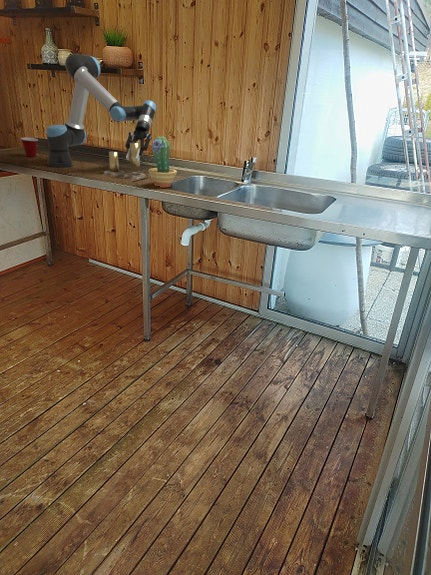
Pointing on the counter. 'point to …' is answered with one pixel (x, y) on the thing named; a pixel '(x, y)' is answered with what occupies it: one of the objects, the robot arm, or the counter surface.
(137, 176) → the pallet
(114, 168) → the cylinder
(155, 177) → the potted cactus
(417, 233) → the counter surface
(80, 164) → the counter surface
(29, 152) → the plastic cup
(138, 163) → the brass billet
